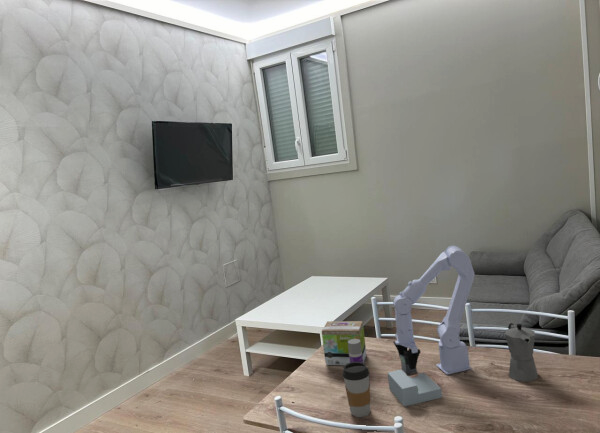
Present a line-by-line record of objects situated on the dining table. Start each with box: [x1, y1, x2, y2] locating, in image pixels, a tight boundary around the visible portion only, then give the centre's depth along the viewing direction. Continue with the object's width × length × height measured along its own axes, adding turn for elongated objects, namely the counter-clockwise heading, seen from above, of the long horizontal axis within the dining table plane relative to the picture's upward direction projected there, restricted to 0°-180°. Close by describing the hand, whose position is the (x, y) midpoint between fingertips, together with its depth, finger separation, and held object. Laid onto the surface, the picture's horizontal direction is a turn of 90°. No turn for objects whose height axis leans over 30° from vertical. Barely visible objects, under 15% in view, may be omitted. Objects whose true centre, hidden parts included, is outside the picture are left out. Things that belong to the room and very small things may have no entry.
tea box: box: [321, 320, 367, 366], centre depth 182 cm, size 15×10×15 cm
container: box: [348, 339, 363, 363], centre depth 164 cm, size 5×5×15 cm
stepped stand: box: [387, 369, 443, 407], centre depth 151 cm, size 13×12×6 cm
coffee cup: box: [342, 362, 372, 418], centre depth 144 cm, size 8×8×15 cm
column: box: [399, 353, 418, 375], centre depth 167 cm, size 4×4×6 cm
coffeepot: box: [504, 322, 539, 383], centre depth 154 cm, size 15×9×18 cm, turn 176°
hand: (408, 364), depth 167 cm, fingers open, 7 cm apart
